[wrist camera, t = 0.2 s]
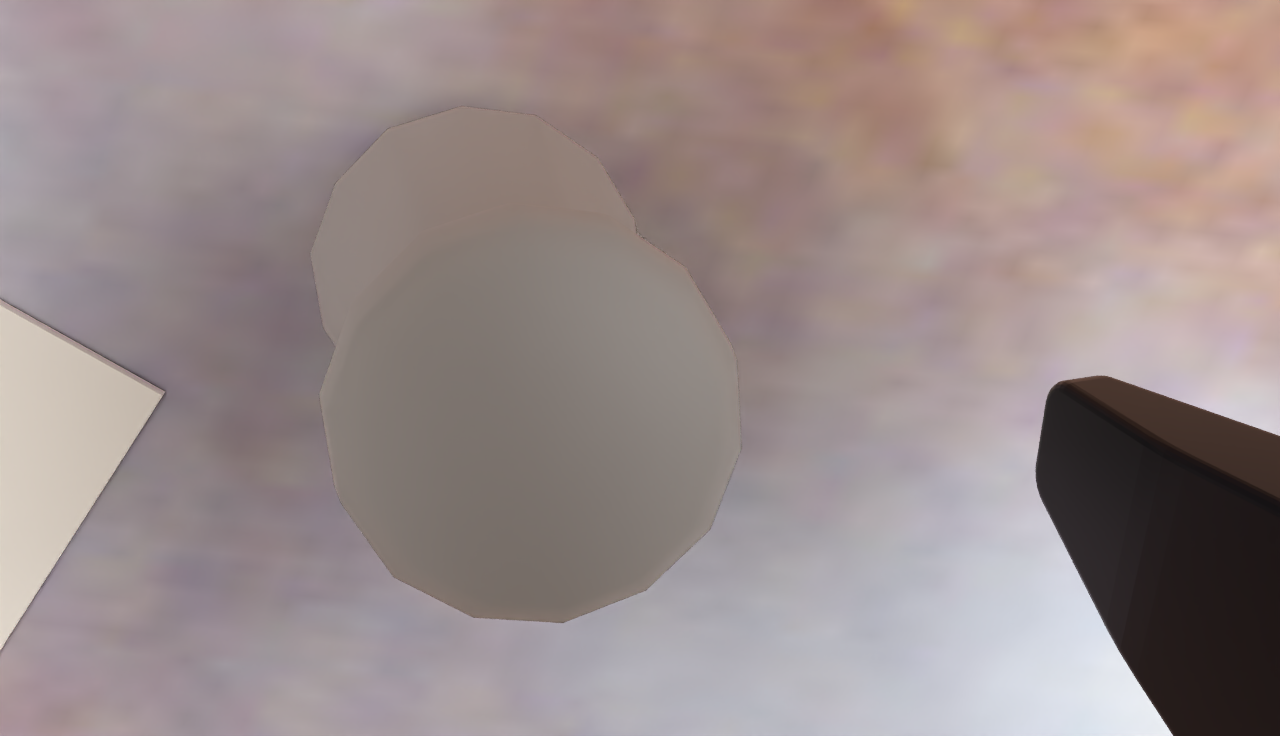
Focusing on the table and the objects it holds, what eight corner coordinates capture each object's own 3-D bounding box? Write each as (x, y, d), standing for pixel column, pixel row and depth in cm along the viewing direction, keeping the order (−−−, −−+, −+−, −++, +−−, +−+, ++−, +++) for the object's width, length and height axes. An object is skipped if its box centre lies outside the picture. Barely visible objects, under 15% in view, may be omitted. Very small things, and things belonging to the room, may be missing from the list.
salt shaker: (265, 298, 23) (96, 551, 11) (422, 44, 23) (438, -2, 10) (520, 445, 25) (632, 813, 12) (673, 212, 24) (950, 350, 12)
